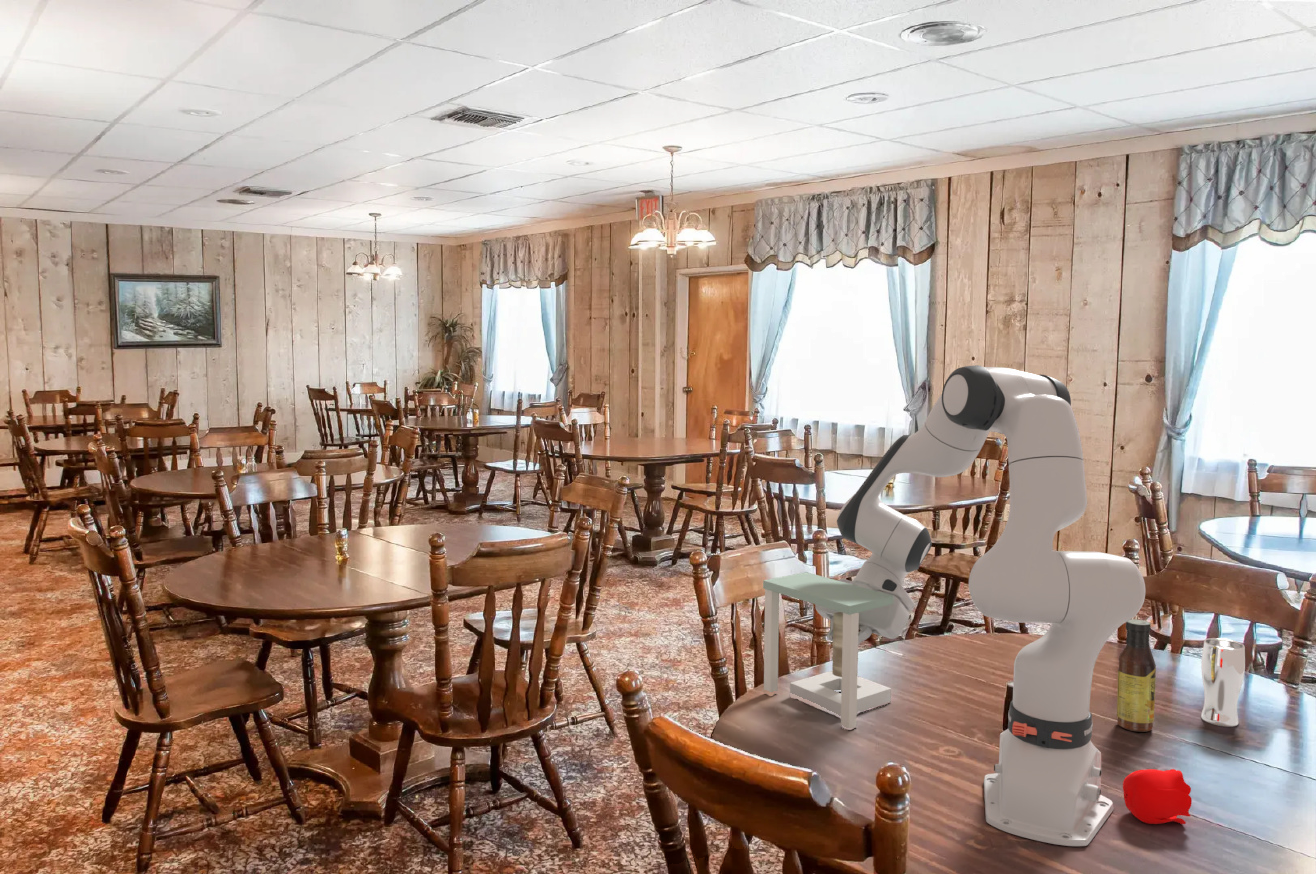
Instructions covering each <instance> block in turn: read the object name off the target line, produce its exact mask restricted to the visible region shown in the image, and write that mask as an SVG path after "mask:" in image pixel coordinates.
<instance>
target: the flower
mask: <svg viewBox="0 0 1316 874" xmlns="http://www.w3.org/2000/svg"><path fill="white" fill-rule="evenodd" d="M1122 790H1123V800H1124V804H1125V807H1126V808H1127V810H1128V811H1129V812H1130V813H1131V814H1132V815H1133V816H1134V817H1135V818H1136V819H1138V820H1139V821H1141V822H1142V823H1144V824H1148V825H1158V824H1160V825H1161V824H1165V823H1166V824H1167V823H1170V822H1174V823H1177V824H1179V823H1180V825H1185V824H1186V823H1187V822H1186V820H1184V819H1183V818H1180V817H1179V818H1178V816H1182V817H1183V816H1184V817H1191V814H1190V812H1189V811H1190V809H1191V807H1192V800H1193V799H1192V797H1191V795H1190V794H1191V792H1192V787H1191V786H1190V785H1189V784H1188V783H1187V782H1186V781H1185V779H1184V774H1183V772H1182V770H1178V769H1177V770H1176V769H1174V768H1172V769H1166V770H1161V769H1155V768H1154V769H1153V768H1150V769H1149V768H1148V769H1138V770H1135V771H1133V772H1131V773H1129V774H1127V776H1125V778H1124V779H1123V782H1122Z"/></svg>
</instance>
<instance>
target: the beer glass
mask: <svg viewBox="0 0 1316 874" xmlns="http://www.w3.org/2000/svg"><path fill="white" fill-rule="evenodd" d="M1245 650H1246V648H1245V645H1244V644H1243V643H1242V642H1240V641H1237V640H1236V641H1235V640H1232V639H1228V638H1220V637H1211V638H1210V637H1209V638H1205V639H1204V640H1203V648H1202V654H1201V667H1200V668H1201V678H1202V685H1203V686H1202V687H1203V693H1204V702H1203V703H1204V704H1203V708H1202V711H1201V715H1200V717H1201V720H1203V721H1204V722H1206V723H1208V724H1211V725H1214V726H1218V727H1226V728H1231V727H1232V728H1234V727H1236V726H1238V725H1239V716H1238V701H1239V696H1240V694H1241V693H1240V692H1241V689H1242V686H1243V681H1244V678H1245V670H1246V651H1245Z"/></svg>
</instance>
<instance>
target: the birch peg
mask: <svg viewBox="0 0 1316 874" xmlns="http://www.w3.org/2000/svg"><path fill="white" fill-rule="evenodd" d="M842 640H843V613H842V612H837V613H834V614H833V641H832V664H831V665H832V666H831V667H832V670H831V671H832V674H833V675H835V676H838V677H842Z"/></svg>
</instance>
